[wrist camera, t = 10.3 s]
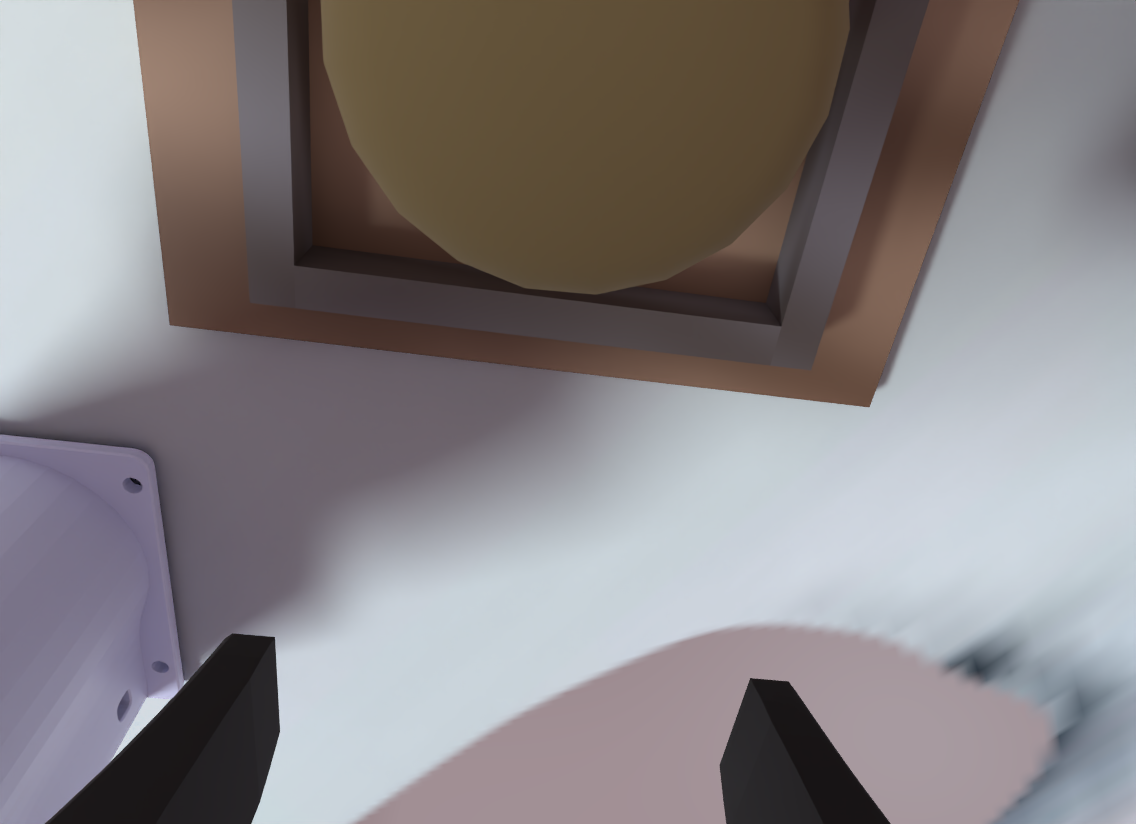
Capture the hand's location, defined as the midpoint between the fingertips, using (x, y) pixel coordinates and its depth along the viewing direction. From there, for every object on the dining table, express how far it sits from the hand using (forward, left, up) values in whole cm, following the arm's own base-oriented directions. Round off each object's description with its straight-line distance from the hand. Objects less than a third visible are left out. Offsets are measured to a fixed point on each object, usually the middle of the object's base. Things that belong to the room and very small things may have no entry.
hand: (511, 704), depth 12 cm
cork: (+9, 0, -10) cm, 14 cm away
